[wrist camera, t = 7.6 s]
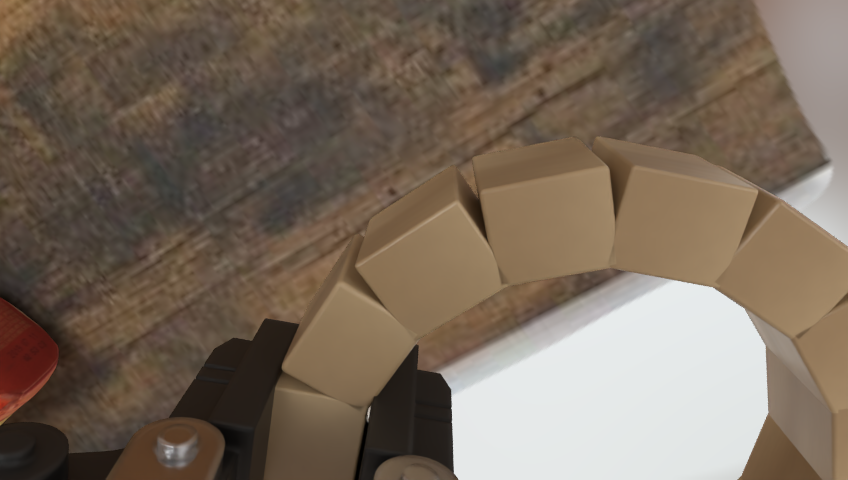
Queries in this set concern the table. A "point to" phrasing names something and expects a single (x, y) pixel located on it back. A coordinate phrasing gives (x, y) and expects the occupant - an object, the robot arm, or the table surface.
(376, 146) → the table surface
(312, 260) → the table surface
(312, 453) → the ring
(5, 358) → the snack package
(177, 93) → the table surface
